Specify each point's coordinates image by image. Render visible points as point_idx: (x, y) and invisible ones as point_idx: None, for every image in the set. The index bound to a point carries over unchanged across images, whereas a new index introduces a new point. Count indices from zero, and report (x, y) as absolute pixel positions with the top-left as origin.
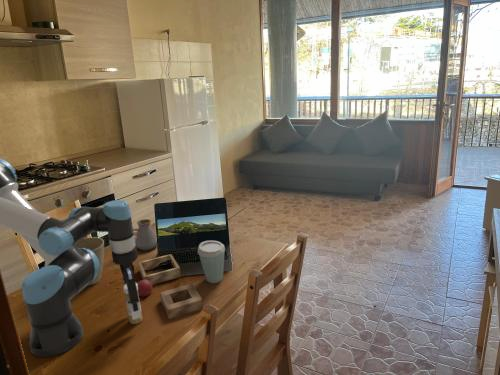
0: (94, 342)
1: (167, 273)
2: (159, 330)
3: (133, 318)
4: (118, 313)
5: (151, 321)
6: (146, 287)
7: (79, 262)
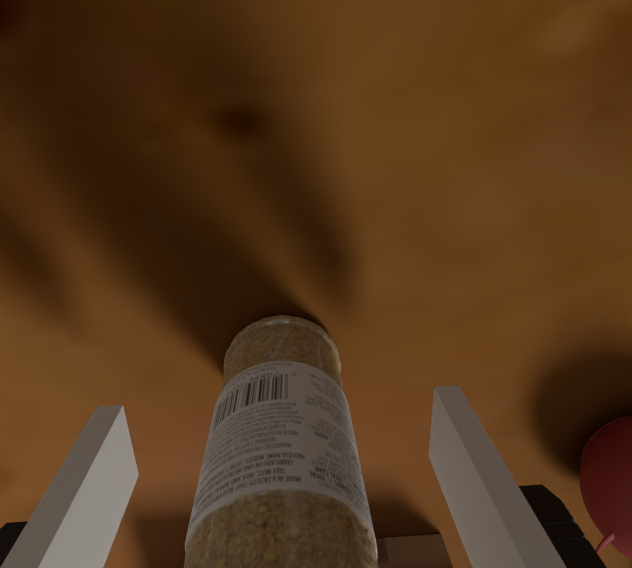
0: None
1: None
2: None
3: (92, 424)
4: (474, 234)
5: None
6: (622, 539)
7: None
